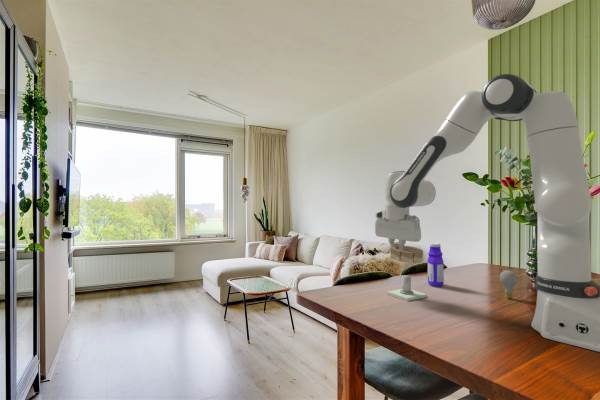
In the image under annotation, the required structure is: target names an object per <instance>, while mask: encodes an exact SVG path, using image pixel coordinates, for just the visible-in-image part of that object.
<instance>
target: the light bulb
mask: <svg viewBox="0 0 600 400" xmlns="http://www.w3.org/2000/svg"><path fill="white" fill-rule="evenodd" d="M518 280H519V278H518V275H517V274H516V273H515V272H514V271H512V270H510V269H509V270H502V272H501V273H500V275H499V281H500V283H501V284H502V285H503V288H504V292H505V298H506V299H508V300H510V299H513V290H514V288H515V287H516V285H517V284H518Z"/></svg>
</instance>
